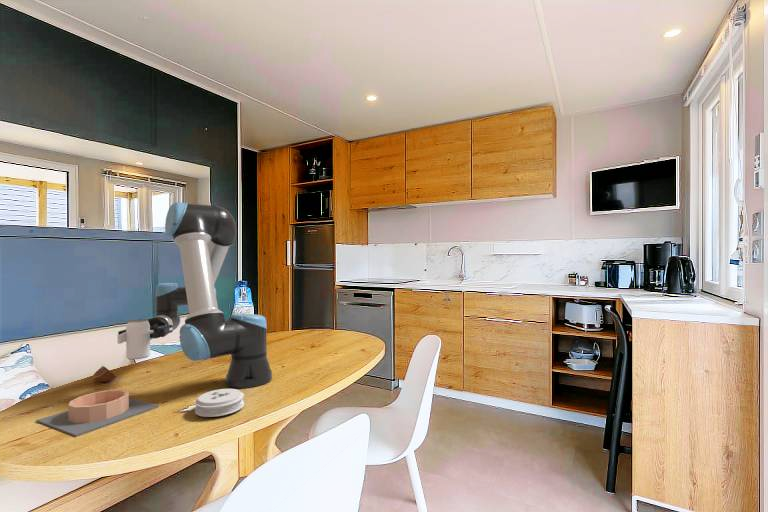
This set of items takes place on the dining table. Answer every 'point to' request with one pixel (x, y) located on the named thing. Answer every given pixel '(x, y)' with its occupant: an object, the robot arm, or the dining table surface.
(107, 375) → the fruit slice
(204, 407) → the lid
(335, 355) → the dining table surface
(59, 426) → the mat
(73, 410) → the bowl
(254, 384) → the robot arm
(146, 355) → the can
